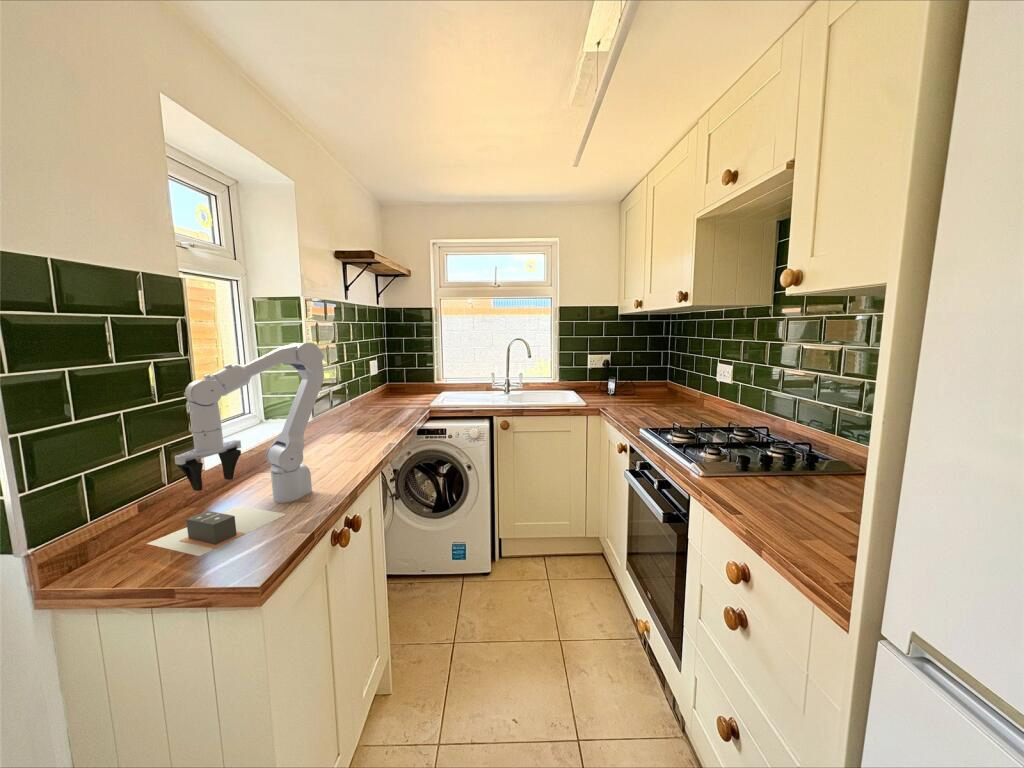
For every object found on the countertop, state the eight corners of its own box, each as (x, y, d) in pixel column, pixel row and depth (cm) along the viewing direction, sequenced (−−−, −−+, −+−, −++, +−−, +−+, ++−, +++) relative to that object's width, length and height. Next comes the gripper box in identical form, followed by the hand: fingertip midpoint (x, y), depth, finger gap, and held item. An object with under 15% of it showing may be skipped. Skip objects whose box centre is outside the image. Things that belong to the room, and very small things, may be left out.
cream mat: (238, 508, 111) (238, 505, 111) (286, 516, 105) (286, 513, 105) (146, 546, 91) (146, 542, 91) (199, 558, 85) (199, 555, 85)
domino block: (236, 535, 94) (234, 515, 93) (215, 544, 90) (213, 524, 89) (209, 529, 97) (207, 510, 97) (188, 538, 93) (186, 518, 92)
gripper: (224, 422, 109) (230, 473, 110) (162, 436, 95) (170, 493, 97) (244, 424, 106) (250, 475, 108) (183, 438, 93) (191, 496, 94)
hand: (213, 484), depth 102 cm, fingers open, 7 cm apart
